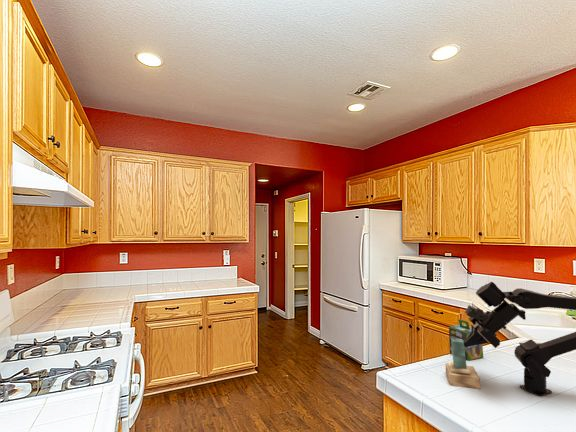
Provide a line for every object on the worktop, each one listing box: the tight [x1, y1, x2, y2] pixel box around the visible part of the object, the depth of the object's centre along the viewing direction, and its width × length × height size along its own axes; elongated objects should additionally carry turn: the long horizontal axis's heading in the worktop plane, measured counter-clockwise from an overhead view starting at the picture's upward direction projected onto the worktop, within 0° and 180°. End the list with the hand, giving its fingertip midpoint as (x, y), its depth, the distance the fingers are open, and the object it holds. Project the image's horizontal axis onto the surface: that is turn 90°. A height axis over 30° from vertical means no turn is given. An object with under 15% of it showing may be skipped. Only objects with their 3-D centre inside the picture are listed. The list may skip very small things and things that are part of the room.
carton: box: [445, 362, 481, 390], centre depth 114 cm, size 9×10×4 cm
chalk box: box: [448, 318, 484, 362], centre depth 137 cm, size 9×9×15 cm
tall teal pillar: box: [446, 339, 471, 374], centre depth 115 cm, size 6×8×10 cm
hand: (463, 345), depth 114 cm, fingers closed, pressing on tall teal pillar
